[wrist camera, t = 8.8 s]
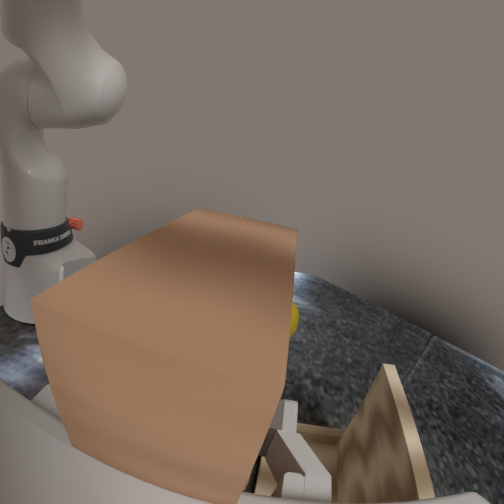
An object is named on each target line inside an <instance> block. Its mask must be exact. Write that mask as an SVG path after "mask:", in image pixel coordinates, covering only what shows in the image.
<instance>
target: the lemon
mask: <svg viewBox="0 0 504 504" xmlns="http://www.w3.org/2000/svg"><path fill="white" fill-rule="evenodd" d="M298 321H299V313H298V309H297V307H296V305H295V304H294V303H293V302H292V312H291V324H290V336H289V338H290V337H291V336H292V335H293V334H294V333H295V331H296V329H297V326H298Z"/></svg>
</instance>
